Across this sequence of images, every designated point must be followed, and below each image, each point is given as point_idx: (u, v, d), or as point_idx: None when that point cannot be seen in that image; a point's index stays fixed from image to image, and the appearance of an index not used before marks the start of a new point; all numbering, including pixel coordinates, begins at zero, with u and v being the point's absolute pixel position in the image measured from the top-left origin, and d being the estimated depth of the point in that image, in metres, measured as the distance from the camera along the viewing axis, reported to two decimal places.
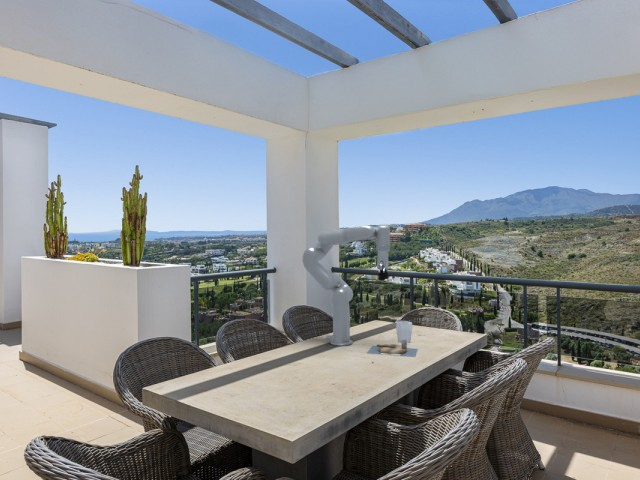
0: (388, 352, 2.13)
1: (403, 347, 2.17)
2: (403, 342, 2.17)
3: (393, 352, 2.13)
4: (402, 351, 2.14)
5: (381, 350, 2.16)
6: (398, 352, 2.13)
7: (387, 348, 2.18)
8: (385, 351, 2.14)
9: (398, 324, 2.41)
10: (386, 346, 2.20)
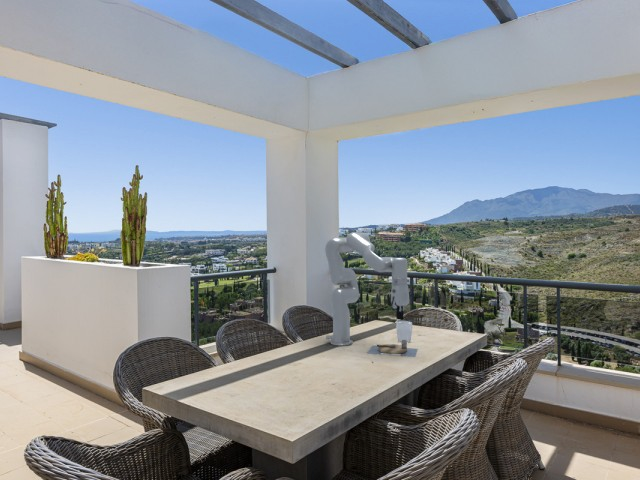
0: (388, 352, 2.13)
1: (403, 347, 2.17)
2: (403, 342, 2.17)
3: (393, 352, 2.13)
4: (402, 351, 2.14)
5: (381, 350, 2.16)
6: (398, 352, 2.13)
7: (387, 348, 2.18)
8: (385, 351, 2.14)
9: (398, 324, 2.41)
10: (386, 346, 2.20)
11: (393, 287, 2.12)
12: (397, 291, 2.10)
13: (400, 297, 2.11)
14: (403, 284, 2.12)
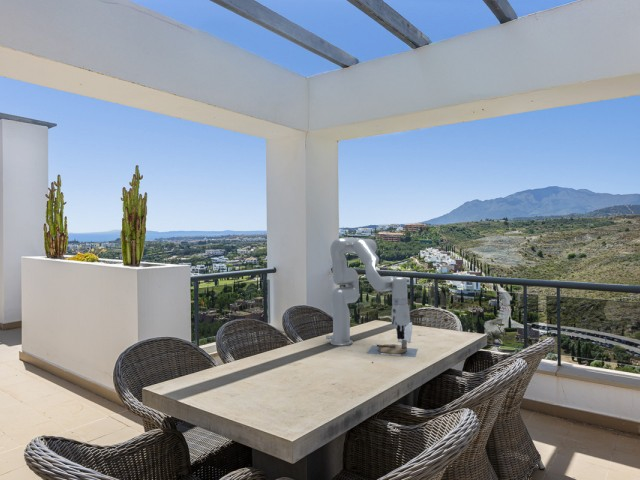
0: (388, 352, 2.13)
1: (403, 347, 2.17)
2: (403, 342, 2.17)
3: (393, 352, 2.13)
4: (402, 351, 2.14)
5: (381, 350, 2.16)
6: (398, 352, 2.13)
7: (387, 348, 2.18)
8: (385, 351, 2.14)
9: None
10: (386, 346, 2.20)
11: (393, 307, 2.12)
12: (397, 311, 2.10)
13: (400, 316, 2.10)
14: (403, 304, 2.11)
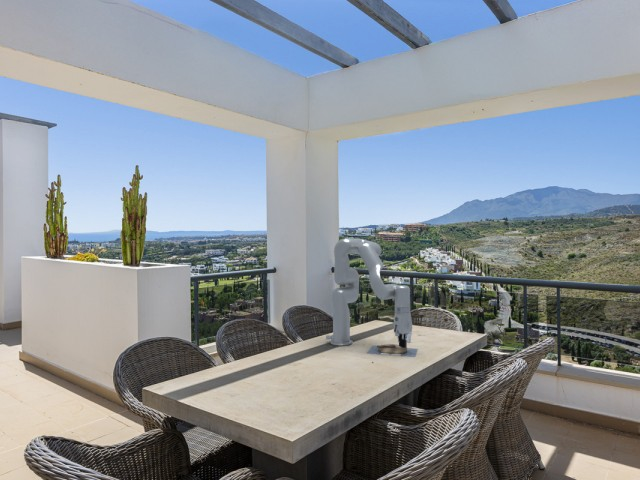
0: (392, 353, 2.13)
1: None
2: None
3: (397, 352, 2.13)
4: (405, 350, 2.15)
5: (384, 351, 2.15)
6: (401, 352, 2.14)
7: (389, 348, 2.17)
8: (389, 352, 2.13)
9: None
10: (386, 346, 2.19)
11: (396, 315, 2.14)
12: (400, 319, 2.12)
13: (402, 325, 2.12)
14: (406, 312, 2.13)
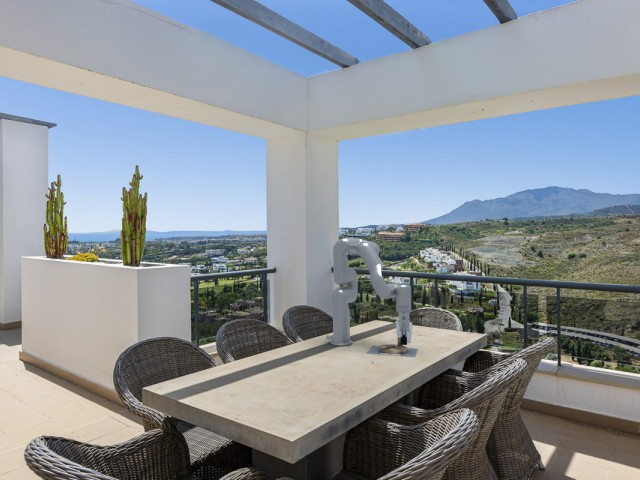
0: (402, 352, 2.14)
1: None
2: None
3: (405, 351, 2.15)
4: (406, 348, 2.20)
5: (394, 352, 2.13)
6: (406, 350, 2.18)
7: (394, 349, 2.16)
8: (399, 352, 2.13)
9: (398, 324, 2.41)
10: (389, 347, 2.17)
11: (402, 314, 2.16)
12: (407, 318, 2.16)
13: None
14: (410, 310, 2.19)
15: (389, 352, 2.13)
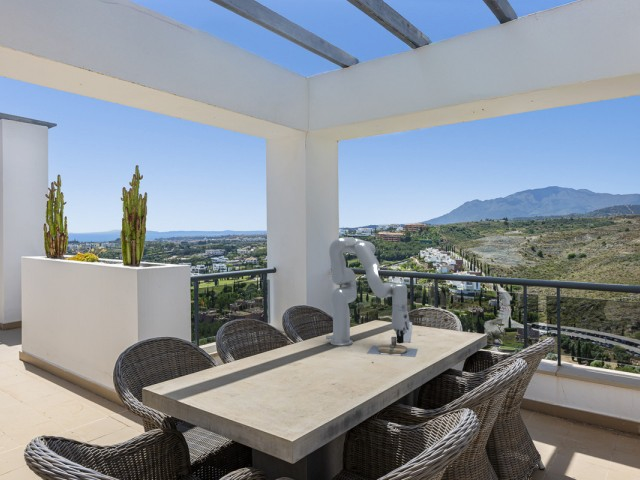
0: (406, 350, 2.17)
1: None
2: None
3: (406, 349, 2.19)
4: None
5: (402, 351, 2.14)
6: None
7: (397, 348, 2.17)
8: (405, 350, 2.16)
9: None
10: (393, 348, 2.17)
11: (404, 313, 2.20)
12: (408, 316, 2.20)
13: None
14: None
15: (398, 352, 2.13)
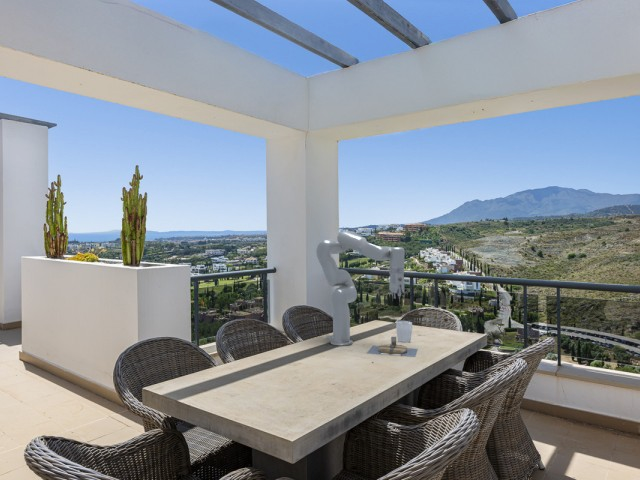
0: (406, 350, 2.17)
1: None
2: None
3: (406, 349, 2.19)
4: None
5: (402, 351, 2.14)
6: None
7: (398, 348, 2.17)
8: (405, 350, 2.16)
9: (398, 324, 2.41)
10: (393, 348, 2.17)
11: (398, 276, 2.19)
12: (403, 279, 2.20)
13: None
14: (403, 272, 2.23)
15: (398, 352, 2.13)
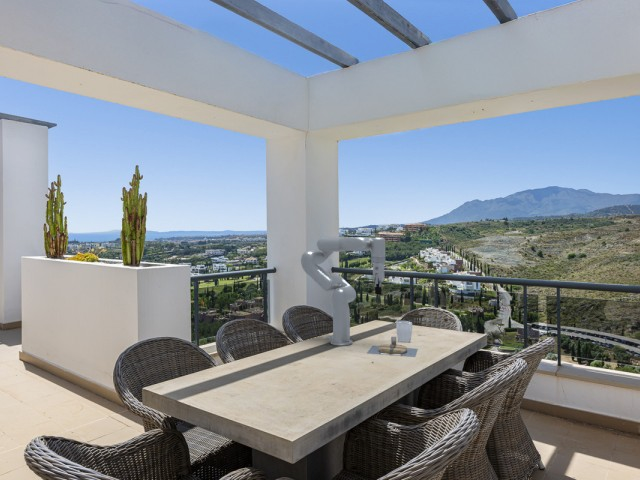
0: (406, 350, 2.17)
1: None
2: None
3: (406, 349, 2.19)
4: None
5: (402, 351, 2.14)
6: None
7: (398, 348, 2.17)
8: (405, 350, 2.16)
9: (398, 324, 2.41)
10: (393, 348, 2.17)
11: (375, 264, 2.28)
12: (380, 268, 2.28)
13: (382, 273, 2.28)
14: (384, 261, 2.30)
15: (398, 352, 2.13)
